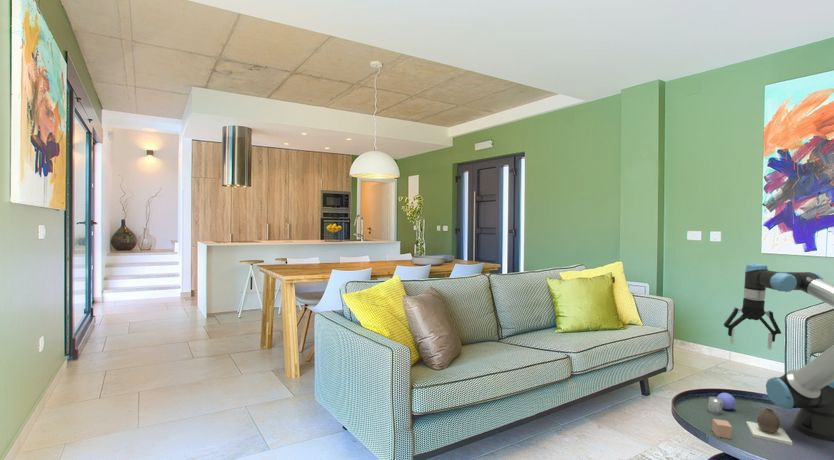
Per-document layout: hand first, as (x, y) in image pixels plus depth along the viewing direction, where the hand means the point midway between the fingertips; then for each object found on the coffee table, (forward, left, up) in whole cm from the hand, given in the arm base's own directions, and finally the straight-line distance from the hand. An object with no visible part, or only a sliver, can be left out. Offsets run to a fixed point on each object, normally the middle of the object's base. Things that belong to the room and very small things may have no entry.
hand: (750, 346), depth 195 cm
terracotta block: (+14, +33, -29) cm, 46 cm away
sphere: (+8, +4, -29) cm, 30 cm away
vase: (-3, +23, -28) cm, 36 cm away
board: (-3, +23, -29) cm, 37 cm away
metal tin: (+13, +11, -29) cm, 33 cm away
